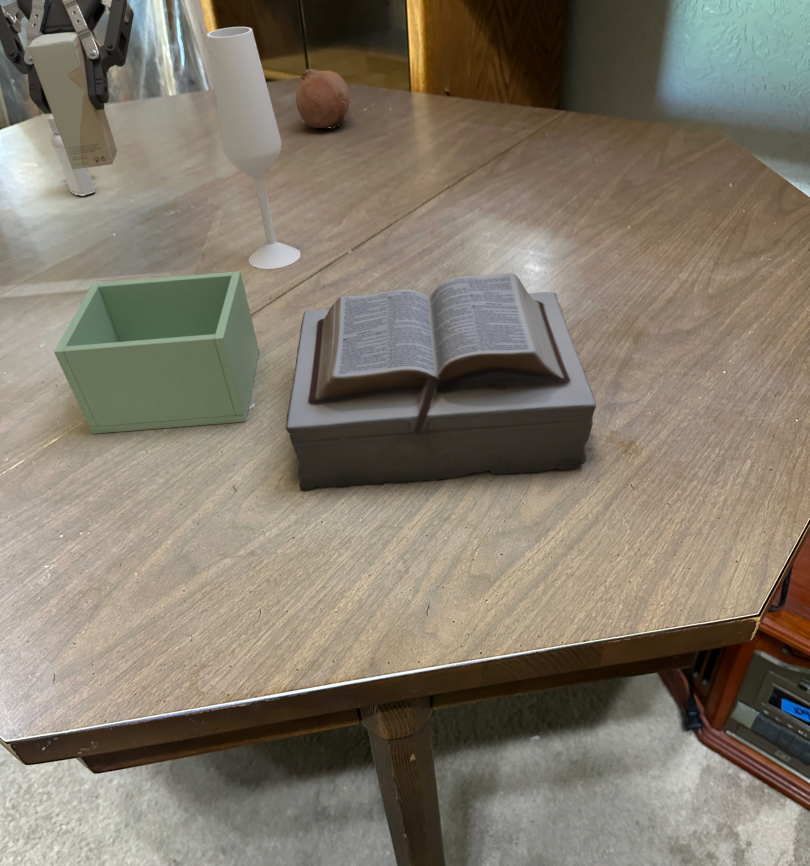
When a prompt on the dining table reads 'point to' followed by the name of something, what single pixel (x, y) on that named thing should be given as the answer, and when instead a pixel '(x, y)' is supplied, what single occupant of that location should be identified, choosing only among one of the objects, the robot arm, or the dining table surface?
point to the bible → (437, 386)
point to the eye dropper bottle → (75, 178)
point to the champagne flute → (248, 126)
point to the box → (72, 99)
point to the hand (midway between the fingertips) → (70, 106)
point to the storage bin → (161, 353)
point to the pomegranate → (322, 98)
